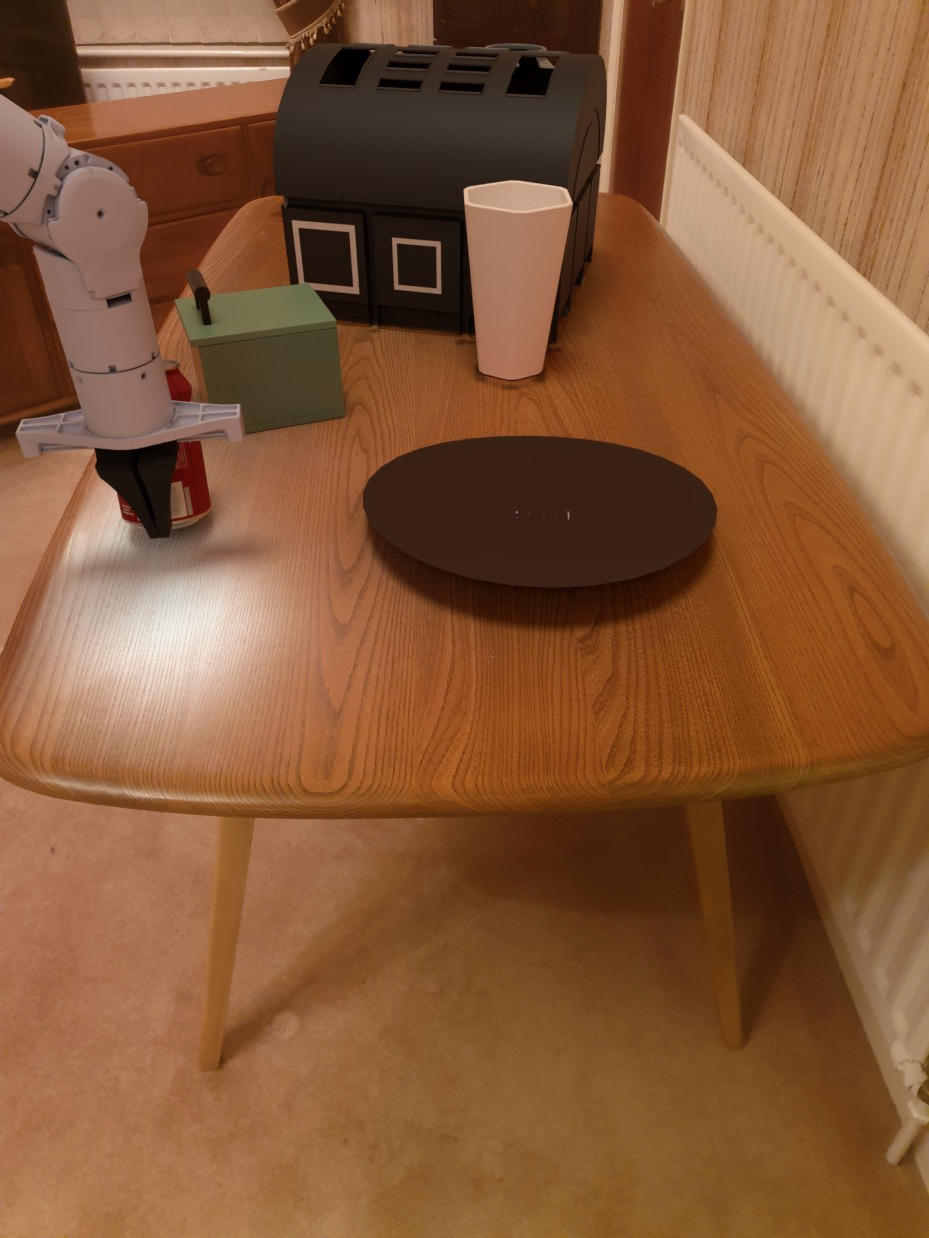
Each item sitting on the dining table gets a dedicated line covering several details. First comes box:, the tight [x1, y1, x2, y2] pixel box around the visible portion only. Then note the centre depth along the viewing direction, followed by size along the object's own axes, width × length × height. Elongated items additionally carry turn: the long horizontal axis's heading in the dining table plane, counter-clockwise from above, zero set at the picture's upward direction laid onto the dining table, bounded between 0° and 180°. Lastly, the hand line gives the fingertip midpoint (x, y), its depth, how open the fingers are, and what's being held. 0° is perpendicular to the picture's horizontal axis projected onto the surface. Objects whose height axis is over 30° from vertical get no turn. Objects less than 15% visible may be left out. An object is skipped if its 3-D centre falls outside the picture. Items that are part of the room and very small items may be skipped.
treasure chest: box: [272, 41, 608, 345], centre depth 104 cm, size 32×32×26 cm
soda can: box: [116, 358, 212, 531], centre depth 66 cm, size 7×7×12 cm
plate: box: [362, 435, 718, 589], centre depth 69 cm, size 28×28×4 cm
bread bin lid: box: [174, 268, 338, 348], centre depth 79 cm, size 13×10×4 cm
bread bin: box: [189, 327, 346, 435], centre depth 83 cm, size 12×10×9 cm
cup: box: [464, 181, 573, 381], centre depth 88 cm, size 11×10×17 cm
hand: (161, 530), depth 64 cm, fingers closed, pressing on soda can
